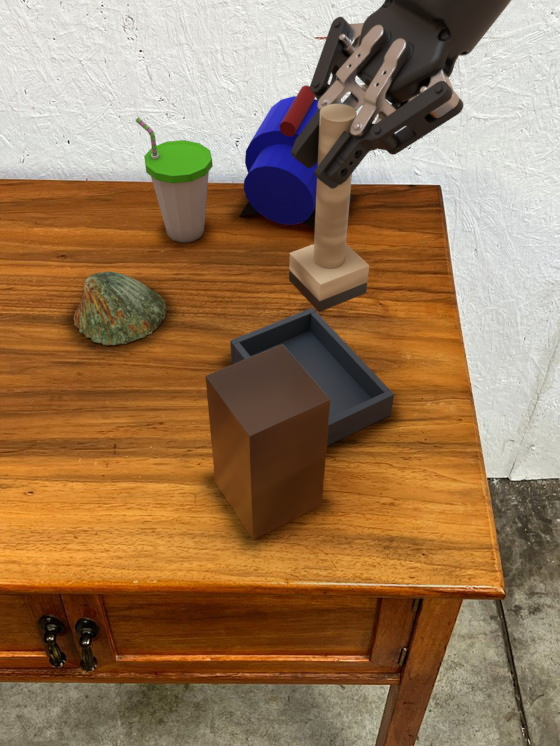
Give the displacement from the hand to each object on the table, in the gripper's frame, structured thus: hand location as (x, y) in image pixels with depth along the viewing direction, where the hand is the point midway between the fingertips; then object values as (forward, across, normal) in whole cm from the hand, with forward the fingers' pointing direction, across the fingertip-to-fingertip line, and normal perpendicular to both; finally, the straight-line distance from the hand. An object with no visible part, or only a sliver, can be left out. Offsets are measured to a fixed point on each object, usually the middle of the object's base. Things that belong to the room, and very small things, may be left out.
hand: (312, 171), depth 57 cm
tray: (+17, -2, +20) cm, 27 cm away
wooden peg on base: (+7, 0, +10) cm, 12 cm away
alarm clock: (+7, -29, +31) cm, 43 cm away
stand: (+24, +7, +13) cm, 29 cm away
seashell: (+26, -22, +12) cm, 36 cm away
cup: (+17, -32, +21) cm, 42 cm away
